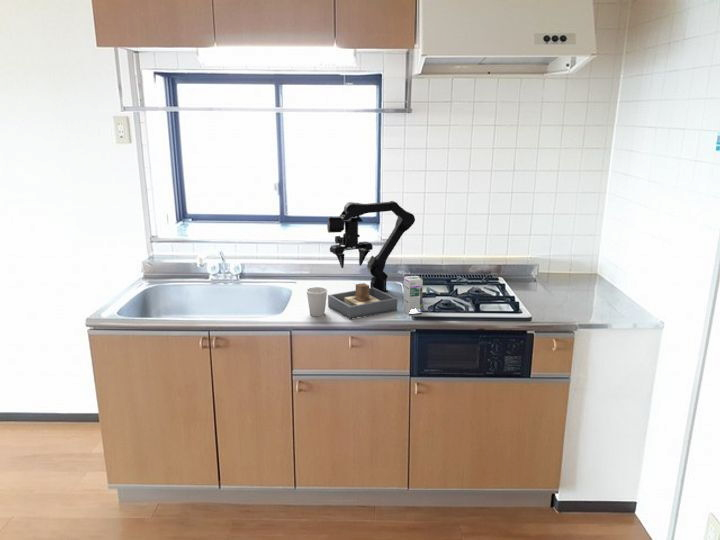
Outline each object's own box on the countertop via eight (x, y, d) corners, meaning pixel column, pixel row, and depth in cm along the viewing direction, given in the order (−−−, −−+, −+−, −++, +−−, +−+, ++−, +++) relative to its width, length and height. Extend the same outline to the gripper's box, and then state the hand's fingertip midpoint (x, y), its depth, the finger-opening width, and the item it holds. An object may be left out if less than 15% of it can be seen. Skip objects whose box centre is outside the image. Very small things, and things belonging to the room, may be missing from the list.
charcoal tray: (373, 298, 232) (373, 287, 231) (396, 310, 217) (397, 298, 216) (328, 306, 221) (328, 295, 220) (349, 319, 206) (349, 307, 205)
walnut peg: (363, 303, 221) (364, 283, 219) (368, 306, 218) (369, 285, 216) (355, 305, 220) (355, 284, 217) (360, 308, 216) (360, 286, 214)
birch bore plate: (366, 300, 226) (366, 293, 225) (380, 307, 217) (381, 300, 216) (343, 304, 221) (343, 297, 220) (357, 312, 211) (357, 305, 211)
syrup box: (408, 315, 211) (409, 280, 208) (403, 310, 217) (404, 276, 213) (421, 314, 213) (423, 278, 209) (416, 309, 218) (417, 275, 215)
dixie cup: (309, 310, 217) (309, 286, 214) (329, 311, 215) (329, 287, 213) (304, 317, 209) (303, 292, 206) (325, 318, 207) (325, 293, 205)
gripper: (360, 227, 244) (360, 260, 248) (323, 230, 235) (324, 265, 239) (373, 231, 235) (372, 265, 239) (335, 235, 226) (336, 270, 230)
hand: (351, 266), depth 237 cm, fingers open, 9 cm apart
